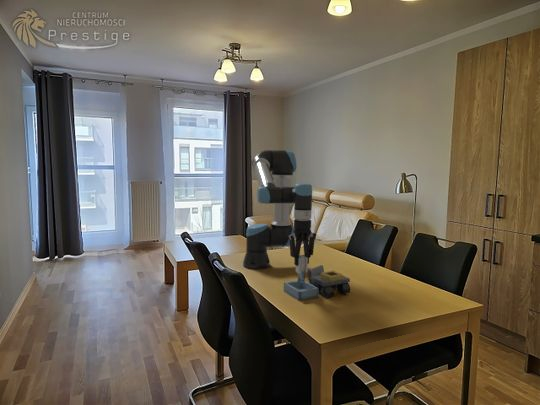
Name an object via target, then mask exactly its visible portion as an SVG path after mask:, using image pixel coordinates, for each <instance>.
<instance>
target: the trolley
mask: <svg viewBox="0 0 540 405" xmlns="http://www.w3.org/2000/svg"><path fill="white" fill-rule="evenodd" d="M311 280H312V281H311V284H312V285H313V286H315V287H317V288H319V292H320V293H321V296H322V297H323V298H325V299H327V298H332V297H333V296H335V291H334V290H335V289H337V291H338V293H339V294H340V295H341V296H342V295H347V294H349V293H350V292H351V286H350V281H351V279H350V277H348V276H345V275H344V274H343V273H342V274H341V273H340V272H337V271H336V270H335V271H334V270H330V271H324V272H322V273H321V275H317V276H312V275H311Z"/></svg>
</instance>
